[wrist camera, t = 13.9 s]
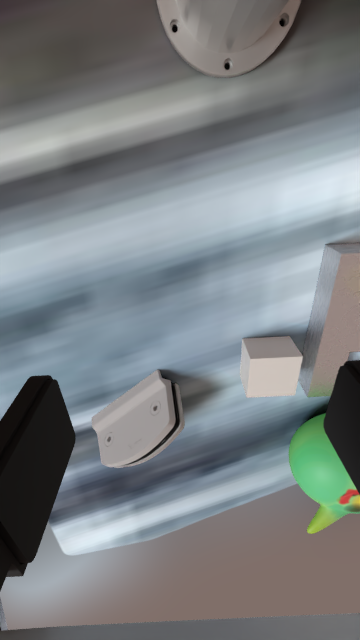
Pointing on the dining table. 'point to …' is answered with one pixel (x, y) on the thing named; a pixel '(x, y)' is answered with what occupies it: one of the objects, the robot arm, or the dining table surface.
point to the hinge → (139, 422)
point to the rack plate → (332, 319)
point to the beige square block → (270, 366)
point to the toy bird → (322, 474)
